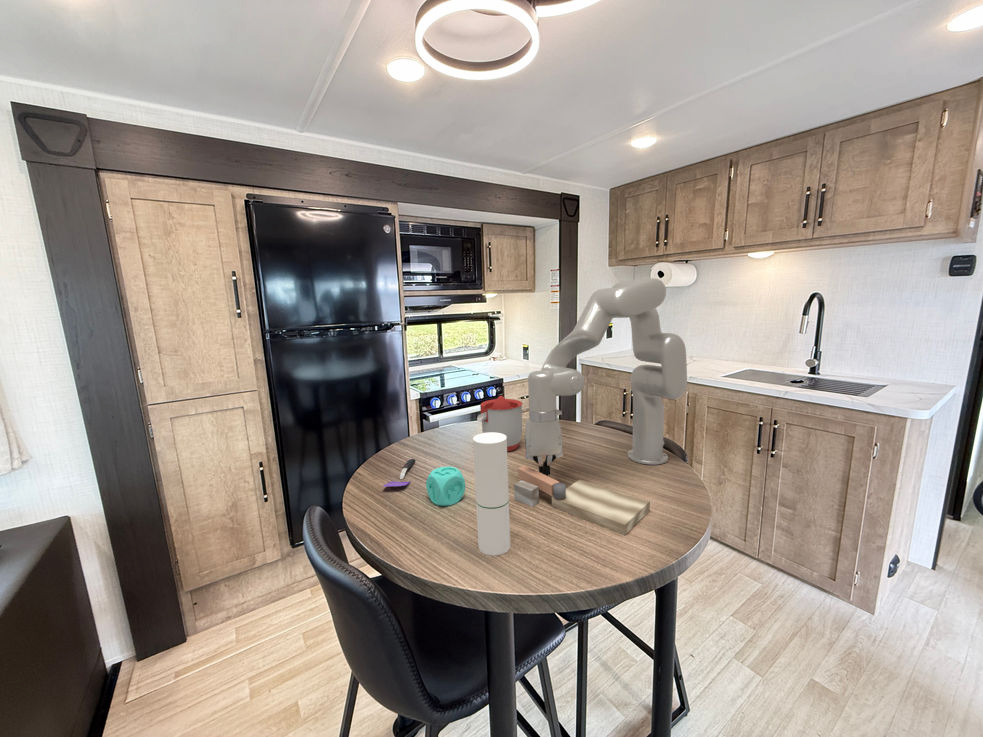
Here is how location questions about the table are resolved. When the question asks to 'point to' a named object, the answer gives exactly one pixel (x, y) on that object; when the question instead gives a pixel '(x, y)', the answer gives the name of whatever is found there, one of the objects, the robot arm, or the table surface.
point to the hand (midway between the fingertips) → (544, 477)
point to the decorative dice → (445, 486)
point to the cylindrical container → (492, 492)
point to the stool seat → (592, 504)
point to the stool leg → (542, 482)
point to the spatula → (402, 474)
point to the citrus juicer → (503, 419)
